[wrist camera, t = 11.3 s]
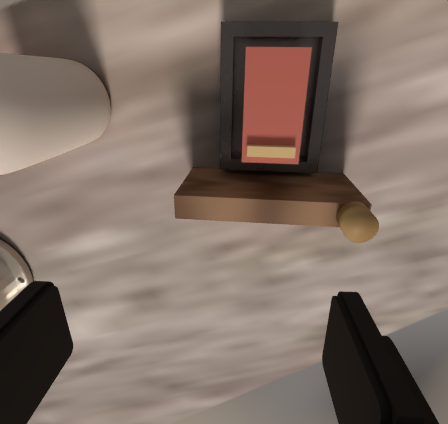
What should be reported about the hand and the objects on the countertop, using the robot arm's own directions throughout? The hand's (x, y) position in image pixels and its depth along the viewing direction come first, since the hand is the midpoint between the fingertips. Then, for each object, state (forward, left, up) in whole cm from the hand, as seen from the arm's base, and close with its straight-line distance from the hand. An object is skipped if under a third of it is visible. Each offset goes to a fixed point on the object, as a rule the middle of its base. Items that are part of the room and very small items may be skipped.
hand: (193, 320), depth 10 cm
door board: (+3, -2, -22) cm, 22 cm away
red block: (+3, +5, -22) cm, 22 cm away
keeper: (+3, +6, -22) cm, 23 cm away
